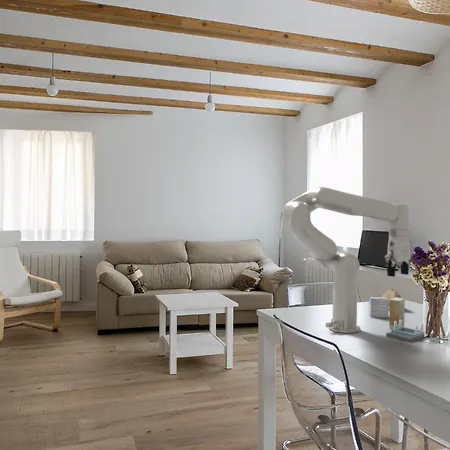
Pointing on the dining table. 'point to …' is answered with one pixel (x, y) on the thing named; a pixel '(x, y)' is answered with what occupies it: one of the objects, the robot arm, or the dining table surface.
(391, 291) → the ceramic model
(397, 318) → the skincare box
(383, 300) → the medicine box
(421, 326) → the pin tray
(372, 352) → the dining table surface
